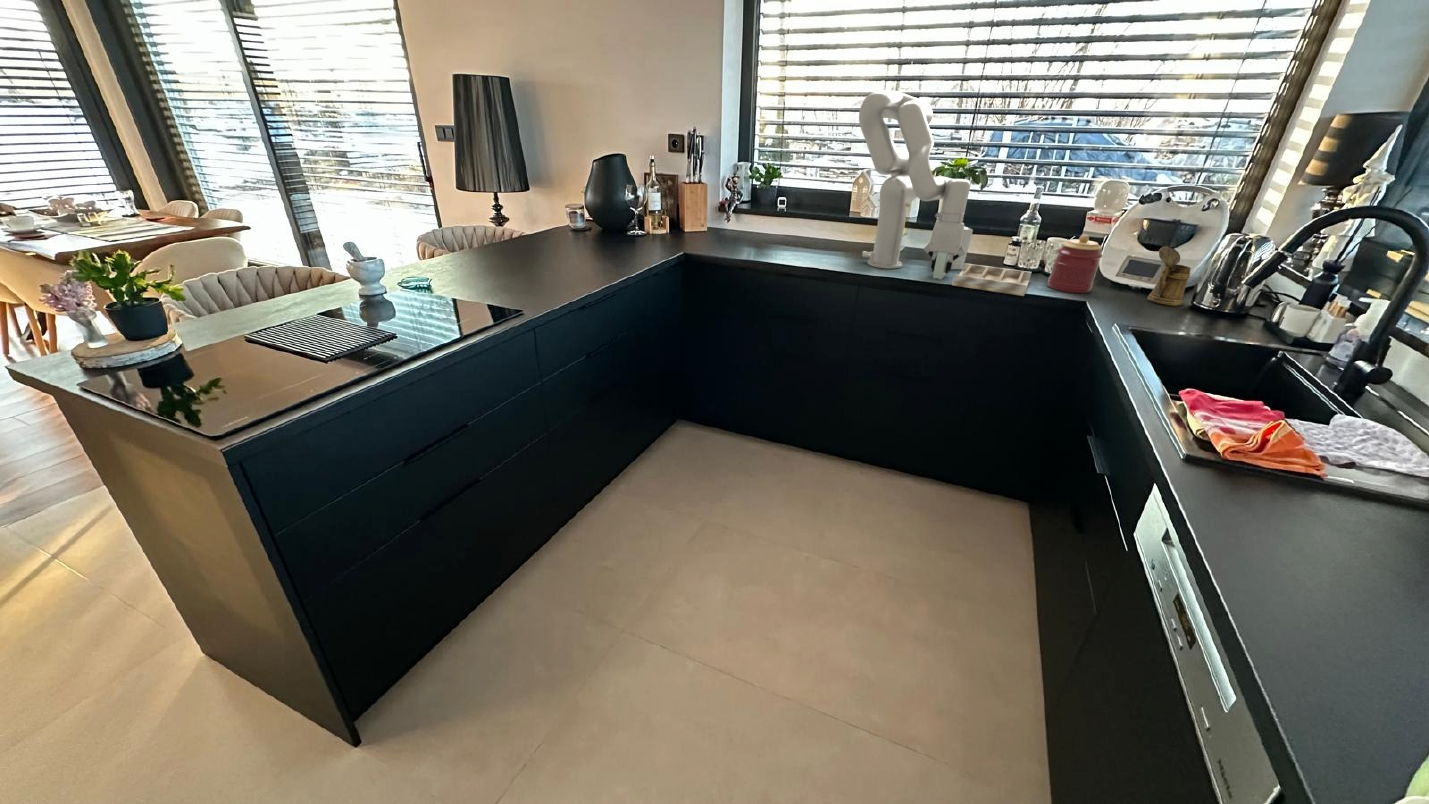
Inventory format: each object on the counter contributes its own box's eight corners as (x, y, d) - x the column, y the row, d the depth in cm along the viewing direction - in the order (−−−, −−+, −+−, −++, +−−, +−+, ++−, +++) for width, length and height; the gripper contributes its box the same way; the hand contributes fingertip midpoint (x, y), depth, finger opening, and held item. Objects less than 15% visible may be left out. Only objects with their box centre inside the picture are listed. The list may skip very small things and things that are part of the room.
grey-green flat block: (932, 278, 195) (937, 252, 191) (937, 273, 201) (942, 248, 197) (941, 279, 194) (946, 253, 190) (945, 274, 200) (951, 249, 196)
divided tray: (951, 285, 187) (953, 274, 186) (961, 272, 203) (964, 263, 201) (1023, 295, 177) (1026, 285, 176) (1028, 282, 193) (1031, 272, 191)
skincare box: (938, 264, 213) (946, 224, 207) (952, 264, 214) (961, 224, 207) (949, 269, 206) (958, 228, 199) (964, 269, 207) (973, 228, 200)
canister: (1049, 281, 195) (1064, 229, 186) (1092, 287, 188) (1110, 234, 180) (1043, 289, 185) (1060, 234, 177) (1088, 296, 179) (1107, 240, 170)
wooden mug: (1130, 300, 175) (1152, 242, 167) (1159, 296, 180) (1182, 239, 171) (1158, 308, 168) (1183, 248, 160) (1188, 304, 172) (1213, 245, 164)
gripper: (923, 217, 189) (913, 270, 198) (975, 222, 182) (963, 277, 190) (928, 214, 195) (918, 266, 203) (979, 219, 188) (966, 272, 196)
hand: (940, 271), depth 197 cm, fingers open, 3 cm apart
